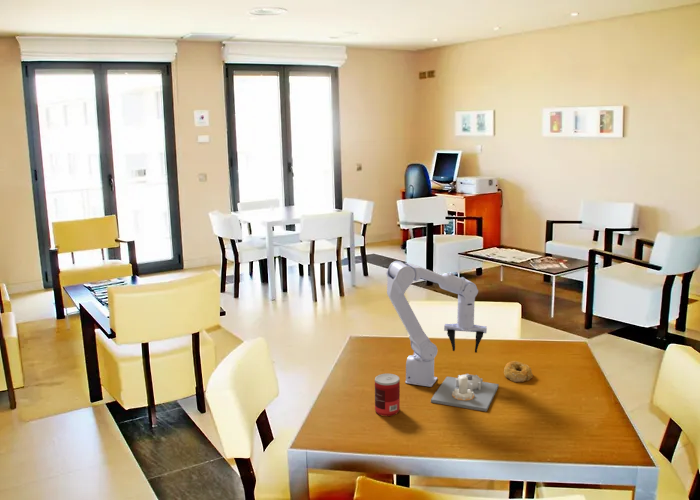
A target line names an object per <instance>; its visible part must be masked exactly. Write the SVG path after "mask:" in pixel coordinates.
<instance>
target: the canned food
mask: <svg viewBox="0 0 700 500" xmlns="http://www.w3.org/2000/svg"><path fill="white" fill-rule="evenodd" d="M400 380H401V379H400V376H399V375H396V374H395V373H394V374H393V373H382V374H378V375H376V376H375V378H374V410H375V413H376V414H377V415H380V416H383V417H392V416H395V415H397V414H398V413H399V412H400V402H401V401H400V397H401V396H400V395H401V394H400V393H401V392H400V391H401V390H400V388H401V387H400V386H401V385H400V384H401V383H400V382H401V381H400Z"/></svg>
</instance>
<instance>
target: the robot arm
mask: <svg viewBox="0 0 700 500" xmlns="http://www.w3.org/2000/svg"><path fill="white" fill-rule="evenodd" d="M385 274H386V278H387V279H386V281H387V282H386V283H387V284H386V295H387V297H388V299H389V301H390V303H391V304H392V306H393V308H394V310H395V311H396V314H397V315H398V317H399V319H400V320H401V323H402V325H403V326H404V328H405V330H406V332H407V334H408V335H409V336H408V337H409V338H408V339H409V340H410V347H411V350H412V351H413V354H412V355H408V357H407V358H406V362H405V381H404V383H405V384H410V385H417V386H422V387H427V388H428V387H429V388H431V387H433V386H434V384H435V383H436V381H437V380H438V377H437V376H435V358H436V357H437V355H438V347H437V345H436V344H435V343H433V342H432V341H431V340H430V338H429V336H428V335H427V334H426V332H425V331H424V330H423V327H422V325H421V324H420V322H419V321H418V318H417V316H416V314H415V312H414V310H413V309H412V307H411V305H410V303H409V301H408V300H407V297H406V296H405V294H406V291H407V290H408V289H409V287H410V286H411V285H412V284H413V282H414V281H415V282H417V281H419V280H420V279H422V280H425V281H429V282H431V283H435V284H438V286H439V288H440V289H442V290H444V291H447V292H449V293H453V294H456V295H457V318H456V319H457V321H456V322H457V323H444V330H443V331H444V332H446V333H447V334H446V335H447V336H448V339H449V341H450V343H451V348H452V351H453V352H455V351H456V340H455V339H456V332H466V333H468V332H469V333H475V346H474V353H475V354H476V353H478V348H479V345H480V343H481V340H482V339H483V337H484V334H487V332H488V331H487V330H488V327H487V326H485V325H479V324H475V304H476V302H475V301H476V297H477V295H478V294H479V289H478V287H477V285H476V283H474V282H472V281H471V280H468V279H466V278H465V277H464V276H461V277H459V276H456V275H455V273H453V272H451V271H450V272H445V273H442V274H441V273H438V272H434V271H433V270H430V269H427V268H425V267H422V266H419V265H417V264H413V263H409V262H403V261H401V260H395V261H394V260H393V262H391V263H390V264H389V266H388V268H387V270H386V273H385Z"/></svg>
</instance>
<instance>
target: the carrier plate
mask: <svg viewBox="0 0 700 500" xmlns="http://www.w3.org/2000/svg"><path fill="white" fill-rule="evenodd" d="M460 376H466V377H468V389H470V390H471V392H473V393H474V395H473V396H472V399H465V400H463V399H459V398H458V399H456V398H455V396H453V395H452V394H453V391H454V389H459V377H460ZM499 386H500V385H499V383H493V382H487V381H483V377H481V378H480V377H479V375H477V374H475V375H474V374H469V373H465V374H461V375H460V374H458V375H457V377H452V376H446V377H445V378H444V380H443V381H442V383H441V384H440V386H439V387H438V388H437V390H436V391H435V392H434V394H433V395H432V397H431V398H430V403H432V404H433V403H434V404H438V405H444V406H445V405H446V406H452V407H456V408H463V409H469V410H475V411H481V412H487V411H488V409H489V407H490V405H491V403H492V402H493V400H494V397H495V395H496V393H497V391H498V389H499Z"/></svg>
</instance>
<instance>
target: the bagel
mask: <svg viewBox="0 0 700 500" xmlns="http://www.w3.org/2000/svg"><path fill="white" fill-rule="evenodd" d="M503 370H504V371H503V374H504V377H505V378H506V379H509V381H511V382H514V383H524V382H526V381H530V380H531V379H533V377H534V375H533V372H532V371H533V370H532V368H531V367H530V366H529V365H528V364H526V363H524V362H521V361H517V360H512V361H508V362H507V363H506V364H505V366H504V369H503Z"/></svg>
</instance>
